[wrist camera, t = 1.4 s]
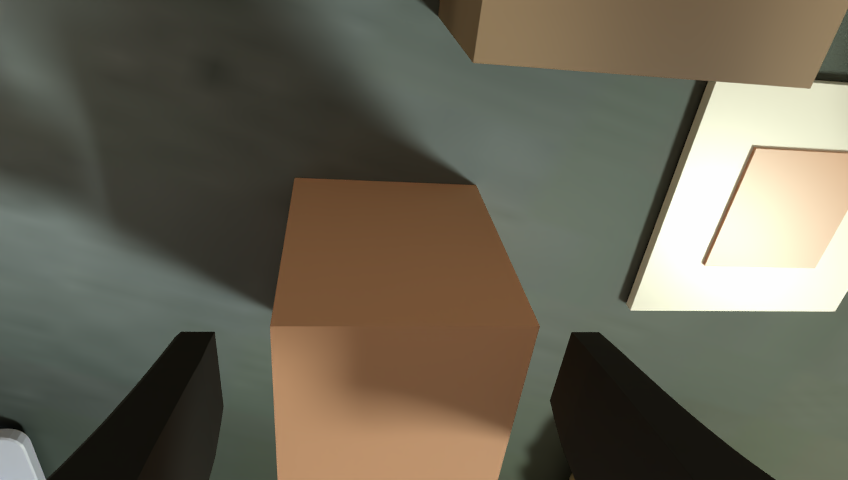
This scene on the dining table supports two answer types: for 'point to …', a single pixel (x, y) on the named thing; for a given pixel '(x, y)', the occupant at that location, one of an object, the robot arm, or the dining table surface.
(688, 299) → the card
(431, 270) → the tan block
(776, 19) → the walnut block
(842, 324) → the dining table surface
